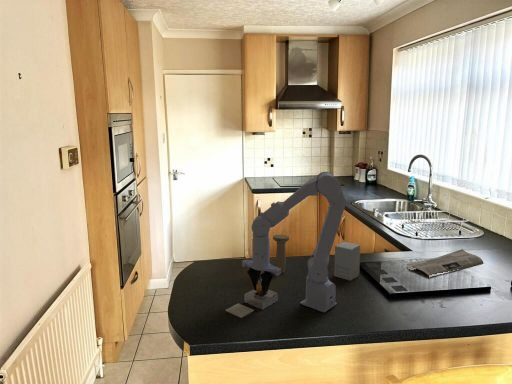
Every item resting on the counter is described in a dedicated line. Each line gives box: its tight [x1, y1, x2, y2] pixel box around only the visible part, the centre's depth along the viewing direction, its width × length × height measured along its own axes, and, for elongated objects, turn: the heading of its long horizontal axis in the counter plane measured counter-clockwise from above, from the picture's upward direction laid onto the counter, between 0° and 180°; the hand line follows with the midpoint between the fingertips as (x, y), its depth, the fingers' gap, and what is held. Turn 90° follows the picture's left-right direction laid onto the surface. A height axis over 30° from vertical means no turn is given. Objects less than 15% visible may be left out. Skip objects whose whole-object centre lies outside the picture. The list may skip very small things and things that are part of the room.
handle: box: [272, 234, 290, 274], centre depth 157 cm, size 5×6×15 cm
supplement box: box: [334, 241, 361, 281], centre depth 153 cm, size 7×7×13 cm
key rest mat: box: [225, 302, 255, 319], centre depth 126 cm, size 7×6×1 cm
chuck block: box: [243, 289, 279, 310], centre depth 132 cm, size 8×8×3 cm
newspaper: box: [406, 248, 484, 276], centre depth 164 cm, size 35×12×4 cm, turn 118°
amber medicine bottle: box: [256, 277, 264, 297], centre depth 131 cm, size 3×3×7 cm
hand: (261, 290), depth 132 cm, fingers closed on amber medicine bottle, 3 cm apart
